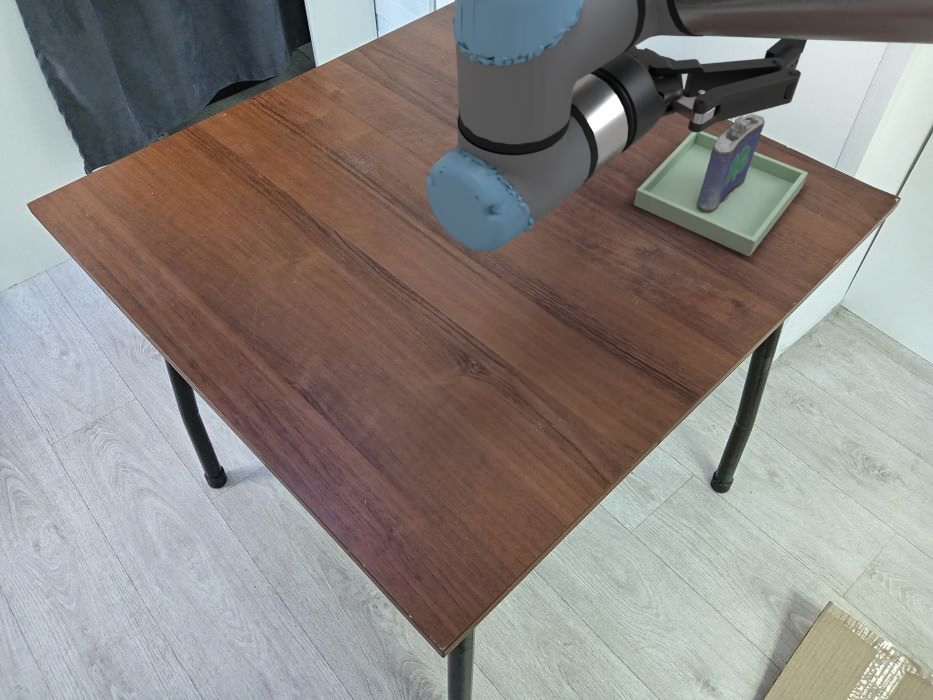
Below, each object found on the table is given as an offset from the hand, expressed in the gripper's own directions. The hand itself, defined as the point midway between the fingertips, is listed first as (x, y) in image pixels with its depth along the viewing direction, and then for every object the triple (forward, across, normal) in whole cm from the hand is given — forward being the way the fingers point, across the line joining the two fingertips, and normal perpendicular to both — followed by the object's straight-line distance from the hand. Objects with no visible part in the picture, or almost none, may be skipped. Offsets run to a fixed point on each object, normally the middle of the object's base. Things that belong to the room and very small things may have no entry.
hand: (734, 9), depth 70 cm
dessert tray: (+10, 0, -28) cm, 29 cm away
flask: (+10, 0, -27) cm, 29 cm away
